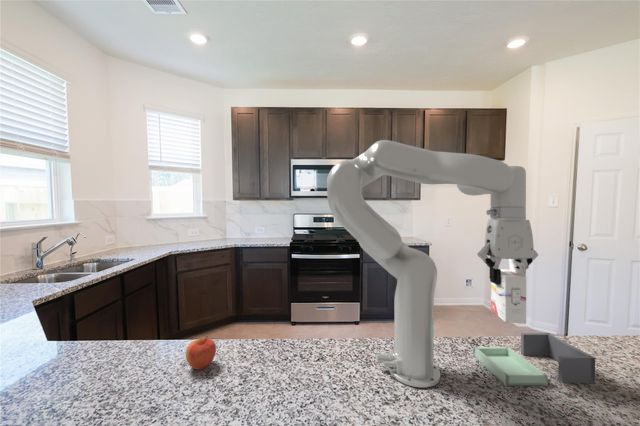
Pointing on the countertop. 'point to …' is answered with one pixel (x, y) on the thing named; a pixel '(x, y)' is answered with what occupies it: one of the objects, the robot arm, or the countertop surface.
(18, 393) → the countertop surface
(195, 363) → the apple
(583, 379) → the bracket
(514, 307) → the ink cartridge box
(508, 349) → the tray
